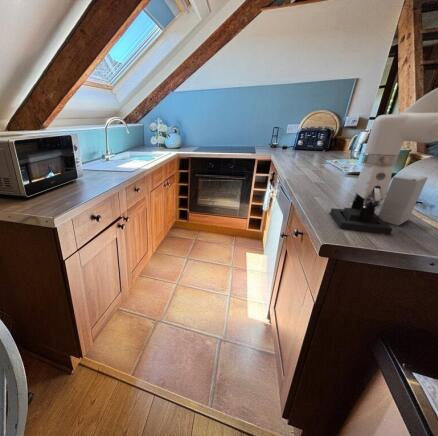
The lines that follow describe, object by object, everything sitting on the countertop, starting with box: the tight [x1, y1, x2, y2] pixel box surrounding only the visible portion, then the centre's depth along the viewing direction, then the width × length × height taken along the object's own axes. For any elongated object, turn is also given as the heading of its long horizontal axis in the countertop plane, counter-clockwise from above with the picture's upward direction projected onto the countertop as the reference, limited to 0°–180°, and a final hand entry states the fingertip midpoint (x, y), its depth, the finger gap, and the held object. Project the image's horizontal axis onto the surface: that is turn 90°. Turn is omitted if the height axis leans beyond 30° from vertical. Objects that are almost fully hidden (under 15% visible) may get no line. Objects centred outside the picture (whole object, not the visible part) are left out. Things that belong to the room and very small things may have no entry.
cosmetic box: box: [377, 173, 429, 226], centre depth 78 cm, size 8×6×15 cm
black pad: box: [343, 207, 379, 224], centre depth 78 cm, size 7×7×2 cm
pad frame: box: [329, 207, 393, 235], centre depth 79 cm, size 12×14×2 cm
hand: (360, 215), depth 78 cm, fingers closed on black pad, 7 cm apart
